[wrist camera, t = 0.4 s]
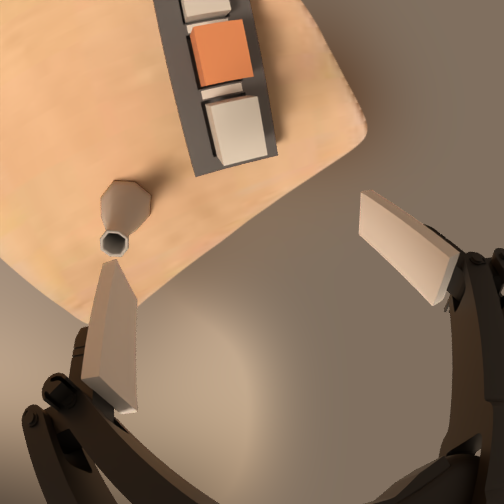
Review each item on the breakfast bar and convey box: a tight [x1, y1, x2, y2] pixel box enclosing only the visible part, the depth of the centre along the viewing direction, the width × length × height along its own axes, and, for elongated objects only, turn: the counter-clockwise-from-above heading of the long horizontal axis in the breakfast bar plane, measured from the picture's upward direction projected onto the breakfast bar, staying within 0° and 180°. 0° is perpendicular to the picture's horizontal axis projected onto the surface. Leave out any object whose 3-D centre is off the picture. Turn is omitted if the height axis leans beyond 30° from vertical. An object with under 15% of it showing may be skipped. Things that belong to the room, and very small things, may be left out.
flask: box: [100, 181, 151, 257], centre depth 30 cm, size 7×7×10 cm
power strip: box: [153, 0, 278, 177], centre depth 23 cm, size 32×10×4 cm, turn 10°
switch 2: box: [190, 19, 254, 87], centre depth 21 cm, size 6×4×4 cm
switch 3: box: [205, 95, 267, 166], centre depth 26 cm, size 6×4×4 cm
